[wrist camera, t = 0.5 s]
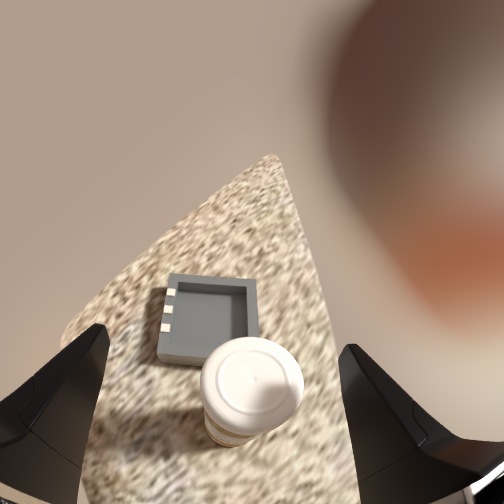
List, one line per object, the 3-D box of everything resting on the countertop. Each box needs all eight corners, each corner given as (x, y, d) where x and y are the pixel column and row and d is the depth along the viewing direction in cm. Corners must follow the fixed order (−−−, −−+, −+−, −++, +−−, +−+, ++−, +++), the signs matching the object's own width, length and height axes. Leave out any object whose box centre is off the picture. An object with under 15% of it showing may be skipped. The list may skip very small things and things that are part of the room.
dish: (256, 368, 24) (260, 358, 22) (160, 362, 23) (156, 352, 21) (252, 292, 30) (256, 278, 29) (171, 286, 29) (169, 271, 28)
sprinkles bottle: (265, 414, 21) (321, 360, 12) (241, 456, 18) (279, 449, 8) (220, 391, 22) (233, 316, 13) (193, 430, 19) (177, 394, 10)
